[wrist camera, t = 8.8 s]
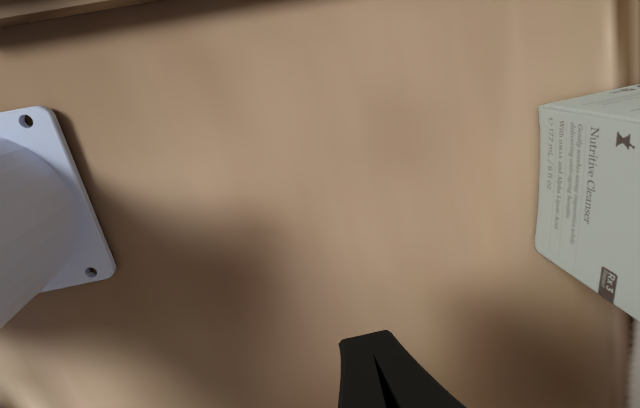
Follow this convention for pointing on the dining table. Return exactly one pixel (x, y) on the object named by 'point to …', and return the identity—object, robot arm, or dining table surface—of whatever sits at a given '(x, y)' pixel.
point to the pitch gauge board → (54, 9)
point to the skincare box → (593, 192)
